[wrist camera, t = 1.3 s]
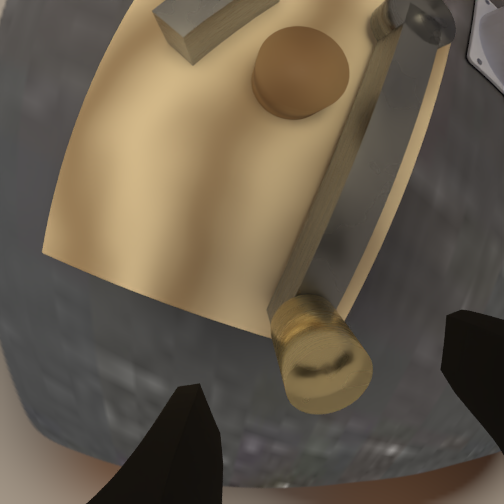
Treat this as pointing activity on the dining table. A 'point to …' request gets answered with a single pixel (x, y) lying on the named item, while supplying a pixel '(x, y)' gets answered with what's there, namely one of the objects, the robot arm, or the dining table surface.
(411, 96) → the press lever
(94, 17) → the dining table surface
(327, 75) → the brown cylinder
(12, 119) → the dining table surface
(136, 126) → the board
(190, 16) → the gray block
